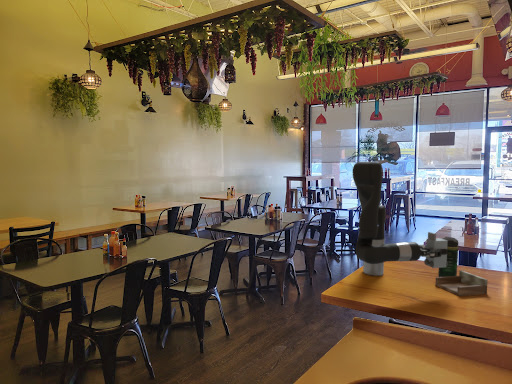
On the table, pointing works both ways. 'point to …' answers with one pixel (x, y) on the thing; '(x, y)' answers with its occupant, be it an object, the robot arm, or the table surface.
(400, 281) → the table surface
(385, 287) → the table surface
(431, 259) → the grey upright block
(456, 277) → the tray
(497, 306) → the table surface
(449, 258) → the coffee jar
